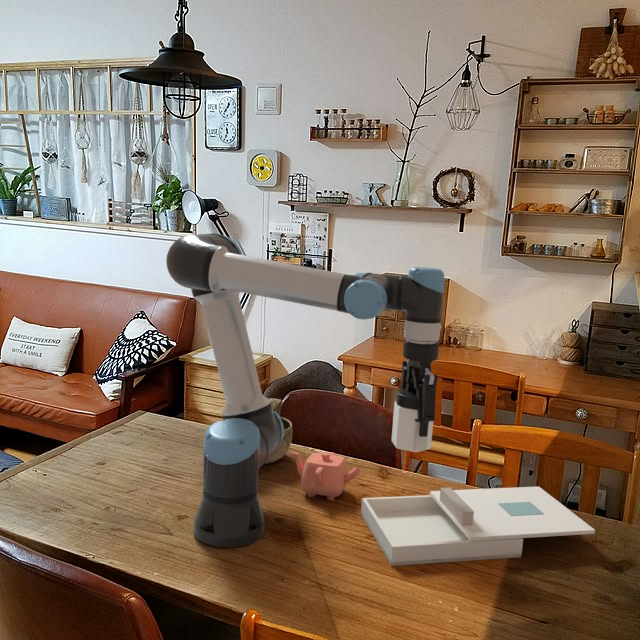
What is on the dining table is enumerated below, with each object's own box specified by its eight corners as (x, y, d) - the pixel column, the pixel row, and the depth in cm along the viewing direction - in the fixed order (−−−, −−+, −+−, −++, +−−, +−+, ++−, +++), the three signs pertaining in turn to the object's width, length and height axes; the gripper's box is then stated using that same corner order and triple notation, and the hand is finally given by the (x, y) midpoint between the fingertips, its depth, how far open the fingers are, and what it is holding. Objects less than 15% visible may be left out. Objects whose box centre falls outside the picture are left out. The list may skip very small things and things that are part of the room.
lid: (470, 541, 129) (472, 523, 128) (429, 494, 150) (431, 478, 149) (594, 533, 134) (596, 516, 134) (538, 489, 156) (540, 474, 155)
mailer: (391, 565, 126) (392, 546, 125) (360, 514, 147) (362, 498, 146) (521, 557, 132) (523, 538, 131) (474, 509, 153) (475, 493, 152)
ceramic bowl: (249, 443, 189) (251, 393, 187) (303, 452, 184) (306, 401, 182) (213, 469, 168) (214, 414, 166) (273, 481, 163) (275, 424, 161)
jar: (409, 454, 136) (414, 400, 134) (383, 442, 142) (387, 390, 140) (438, 447, 141) (443, 395, 139) (412, 436, 147) (416, 386, 145)
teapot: (340, 480, 166) (342, 442, 164) (360, 499, 155) (363, 459, 154) (288, 486, 160) (289, 448, 159) (306, 507, 150) (307, 465, 148)
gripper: (458, 350, 128) (448, 459, 132) (419, 332, 147) (412, 428, 151) (423, 350, 126) (414, 461, 130) (388, 331, 145) (381, 429, 149)
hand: (413, 443), depth 140 cm, fingers closed on jar, 7 cm apart
